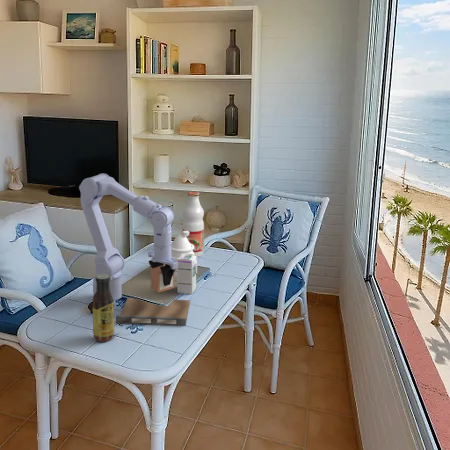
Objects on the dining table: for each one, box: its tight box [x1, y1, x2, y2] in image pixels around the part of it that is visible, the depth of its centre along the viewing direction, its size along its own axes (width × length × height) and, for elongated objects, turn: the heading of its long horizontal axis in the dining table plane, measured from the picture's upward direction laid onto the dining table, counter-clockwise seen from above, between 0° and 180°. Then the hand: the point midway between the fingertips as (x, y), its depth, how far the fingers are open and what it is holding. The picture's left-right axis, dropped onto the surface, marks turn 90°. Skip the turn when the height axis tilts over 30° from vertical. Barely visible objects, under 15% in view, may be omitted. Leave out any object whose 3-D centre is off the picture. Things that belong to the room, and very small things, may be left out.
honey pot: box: [171, 230, 198, 277], centre depth 196 cm, size 13×13×18 cm
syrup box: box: [176, 254, 197, 296], centre depth 179 cm, size 6×6×14 cm
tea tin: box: [150, 264, 175, 294], centre depth 165 cm, size 4×6×7 cm
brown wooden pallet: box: [115, 297, 191, 327], centre depth 164 cm, size 22×18×3 cm
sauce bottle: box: [92, 274, 115, 343], centre depth 147 cm, size 7×6×20 cm
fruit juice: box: [182, 191, 205, 258], centre depth 216 cm, size 9×9×28 cm
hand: (162, 282), depth 166 cm, fingers closed on tea tin, 4 cm apart
